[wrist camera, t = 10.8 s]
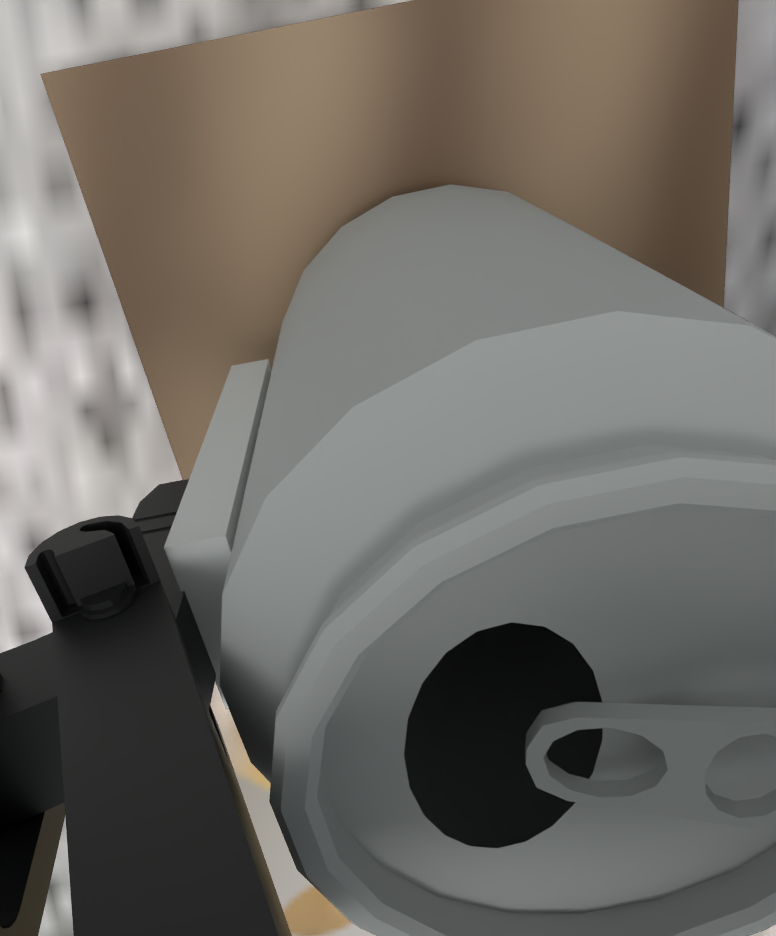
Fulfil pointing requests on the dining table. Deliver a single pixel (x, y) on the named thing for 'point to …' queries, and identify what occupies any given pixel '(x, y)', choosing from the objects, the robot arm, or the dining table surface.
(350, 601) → the can
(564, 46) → the pad
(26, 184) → the dining table surface
